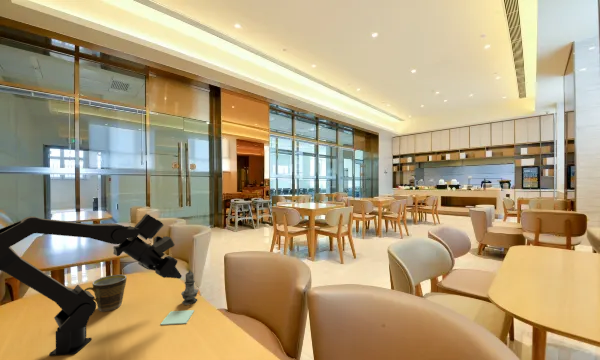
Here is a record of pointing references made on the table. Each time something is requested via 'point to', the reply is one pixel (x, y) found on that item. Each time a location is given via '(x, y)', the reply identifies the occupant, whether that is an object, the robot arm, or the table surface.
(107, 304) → the ceramic cup
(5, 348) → the table surface
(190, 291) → the grey stone tiered figure
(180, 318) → the plate
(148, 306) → the table surface
